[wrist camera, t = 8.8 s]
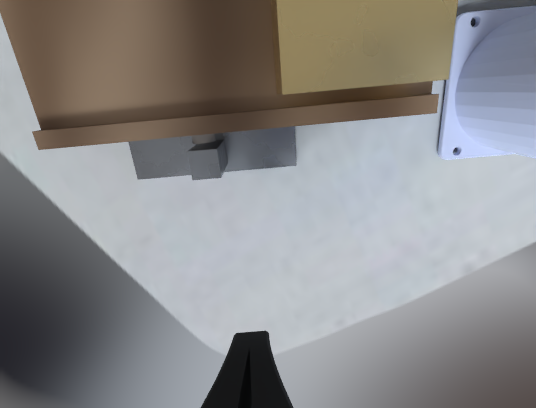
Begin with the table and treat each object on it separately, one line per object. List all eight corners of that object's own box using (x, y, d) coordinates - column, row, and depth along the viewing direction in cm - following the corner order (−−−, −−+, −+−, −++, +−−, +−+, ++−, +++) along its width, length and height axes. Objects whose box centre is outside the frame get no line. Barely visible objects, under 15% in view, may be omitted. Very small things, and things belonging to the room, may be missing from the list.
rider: (417, -36, 12) (467, -76, 9) (408, 82, 13) (448, 79, 11) (268, -23, 12) (272, -59, 9) (276, 94, 13) (282, 94, 11)
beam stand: (281, -98, 14) (288, -160, 11) (295, 163, 19) (303, 179, 16) (79, -78, 15) (20, -133, 11) (141, 176, 19) (114, 196, 16)
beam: (422, -74, 13) (462, -113, 11) (407, 121, 16) (435, 126, 14) (17, -38, 13) (-41, -70, 11) (76, 151, 16) (43, 162, 13)
